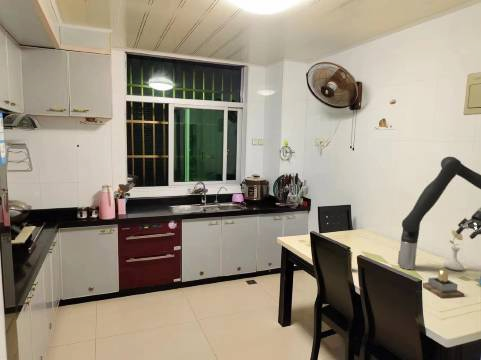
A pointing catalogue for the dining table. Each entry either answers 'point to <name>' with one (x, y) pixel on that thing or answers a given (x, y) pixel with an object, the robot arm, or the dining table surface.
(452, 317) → the dining table surface
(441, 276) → the gold dome cylinder
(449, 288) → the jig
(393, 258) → the dining table surface
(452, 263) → the flower in vase
